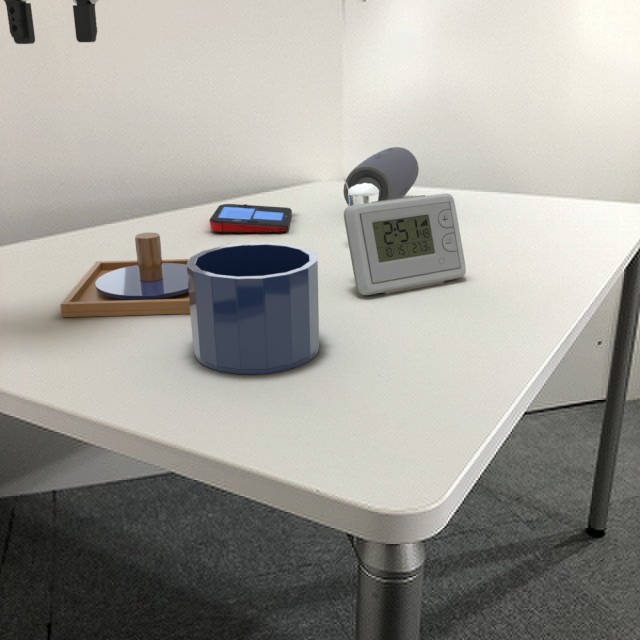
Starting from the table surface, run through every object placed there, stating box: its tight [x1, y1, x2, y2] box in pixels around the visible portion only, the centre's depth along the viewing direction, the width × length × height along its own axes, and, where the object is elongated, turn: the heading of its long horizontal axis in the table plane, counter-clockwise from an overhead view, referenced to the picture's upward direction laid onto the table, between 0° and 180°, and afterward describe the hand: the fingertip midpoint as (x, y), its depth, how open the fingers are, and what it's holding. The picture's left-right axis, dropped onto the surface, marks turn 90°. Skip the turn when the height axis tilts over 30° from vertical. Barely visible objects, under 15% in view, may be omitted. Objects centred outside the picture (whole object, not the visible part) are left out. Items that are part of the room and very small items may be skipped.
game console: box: [209, 203, 293, 234], centre depth 130 cm, size 14×13×2 cm
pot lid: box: [95, 232, 189, 300], centre depth 96 cm, size 14×14×7 cm
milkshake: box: [342, 176, 379, 207], centre depth 116 cm, size 4×5×10 cm
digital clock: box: [343, 193, 467, 296], centre depth 97 cm, size 16×9×11 cm, turn 106°
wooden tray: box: [60, 258, 191, 318], centre depth 97 cm, size 18×18×2 cm
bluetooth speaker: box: [342, 146, 420, 207], centre depth 138 cm, size 23×9×10 cm, turn 162°
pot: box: [187, 242, 320, 375], centre depth 78 cm, size 13×13×10 cm
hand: (57, 43), depth 80 cm, fingers open, 8 cm apart
